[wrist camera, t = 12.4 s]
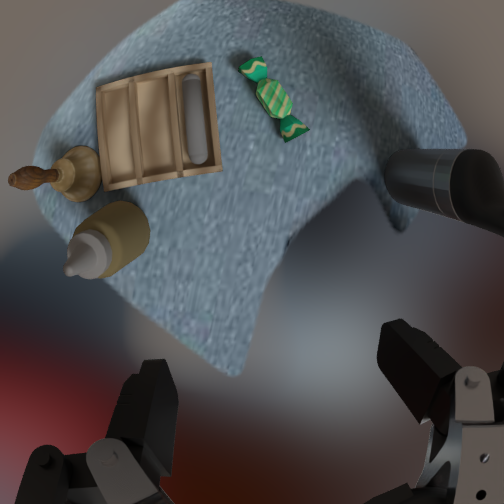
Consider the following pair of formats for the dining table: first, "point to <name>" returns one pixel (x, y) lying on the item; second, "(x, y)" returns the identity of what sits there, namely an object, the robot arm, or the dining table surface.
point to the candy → (273, 98)
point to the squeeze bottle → (107, 241)
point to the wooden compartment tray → (152, 128)
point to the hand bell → (65, 175)
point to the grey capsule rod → (194, 119)
